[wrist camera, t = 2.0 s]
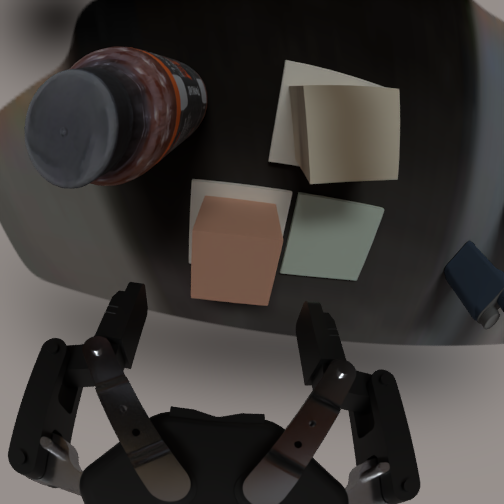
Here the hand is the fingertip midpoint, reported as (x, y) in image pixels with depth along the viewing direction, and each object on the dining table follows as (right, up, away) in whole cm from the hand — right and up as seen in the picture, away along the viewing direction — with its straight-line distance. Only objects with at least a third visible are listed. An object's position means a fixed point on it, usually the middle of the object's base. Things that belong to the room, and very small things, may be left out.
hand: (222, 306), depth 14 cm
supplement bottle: (-4, +13, +2) cm, 14 cm away
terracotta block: (0, +4, +7) cm, 8 cm away
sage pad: (+8, +4, +8) cm, 12 cm away
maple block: (+6, +11, +3) cm, 13 cm away
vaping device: (+23, +2, +10) cm, 25 cm away
